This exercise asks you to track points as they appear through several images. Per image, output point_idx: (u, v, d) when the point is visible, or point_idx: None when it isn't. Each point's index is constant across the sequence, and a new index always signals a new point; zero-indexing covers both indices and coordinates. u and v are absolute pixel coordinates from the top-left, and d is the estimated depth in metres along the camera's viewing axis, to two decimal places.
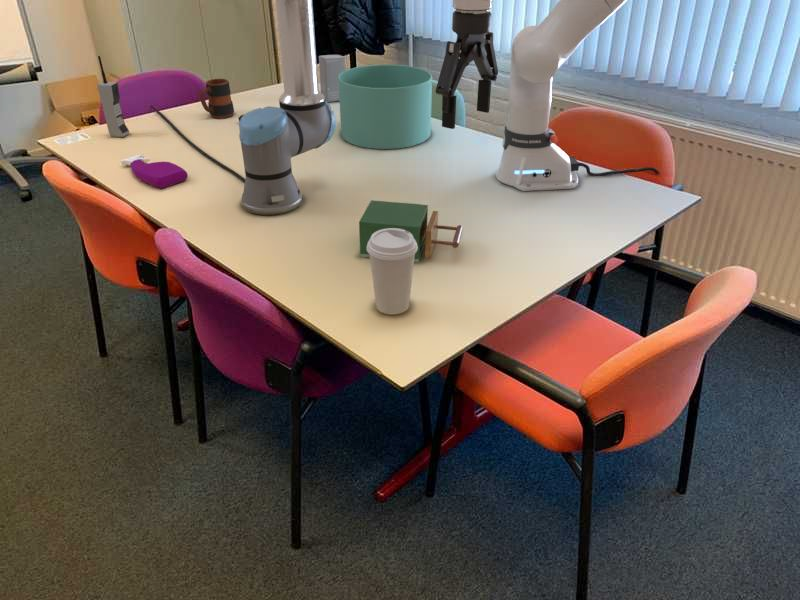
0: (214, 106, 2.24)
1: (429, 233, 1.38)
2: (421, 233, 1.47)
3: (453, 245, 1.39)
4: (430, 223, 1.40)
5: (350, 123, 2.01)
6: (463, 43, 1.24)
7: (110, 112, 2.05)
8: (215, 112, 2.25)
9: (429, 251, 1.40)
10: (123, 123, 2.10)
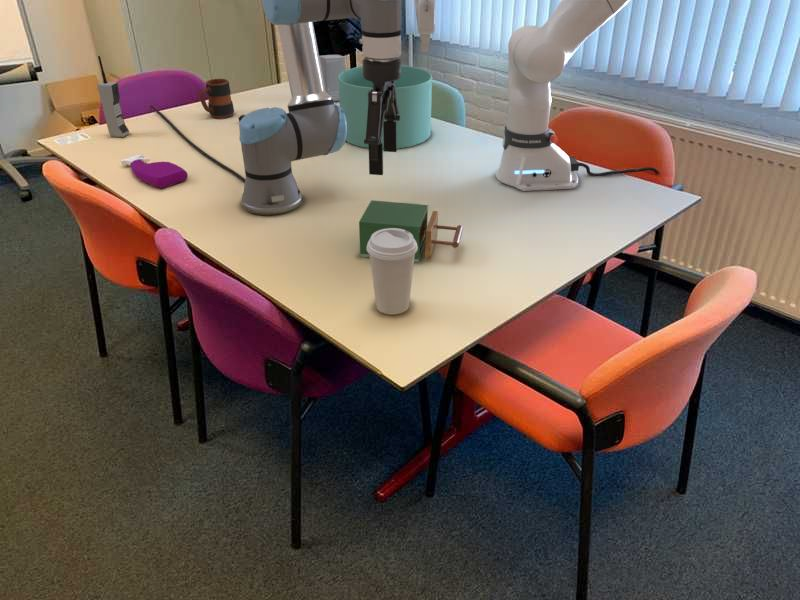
0: (214, 106, 2.24)
1: (429, 233, 1.38)
2: (421, 233, 1.47)
3: (453, 245, 1.39)
4: (430, 223, 1.40)
5: (350, 123, 2.01)
6: None
7: (110, 112, 2.05)
8: (215, 112, 2.25)
9: (429, 251, 1.40)
10: (123, 123, 2.10)
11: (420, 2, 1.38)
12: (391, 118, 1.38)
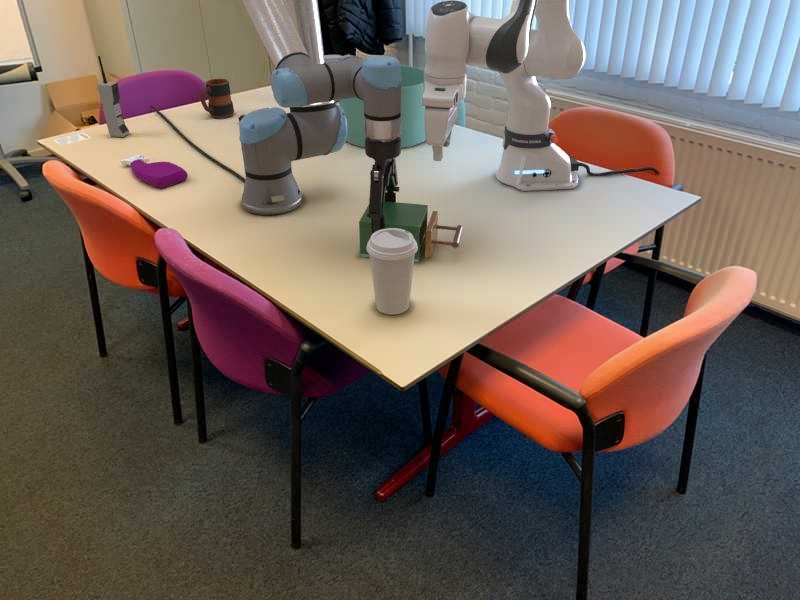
0: (214, 106, 2.24)
1: (429, 233, 1.38)
2: (421, 233, 1.47)
3: (453, 245, 1.39)
4: (430, 223, 1.40)
5: (350, 123, 2.01)
6: None
7: (110, 112, 2.05)
8: (215, 112, 2.25)
9: (429, 251, 1.40)
10: (123, 123, 2.10)
11: None
12: (391, 189, 1.46)
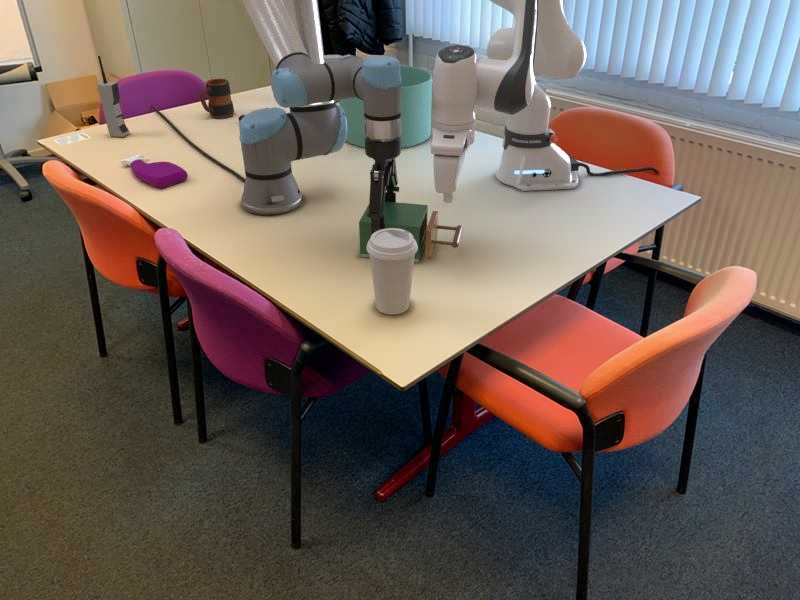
0: (214, 106, 2.24)
1: (429, 233, 1.38)
2: (421, 233, 1.47)
3: (453, 245, 1.39)
4: (430, 223, 1.40)
5: (350, 123, 2.01)
6: None
7: (110, 112, 2.05)
8: (215, 112, 2.25)
9: (429, 251, 1.40)
10: (123, 123, 2.10)
11: None
12: (391, 189, 1.46)
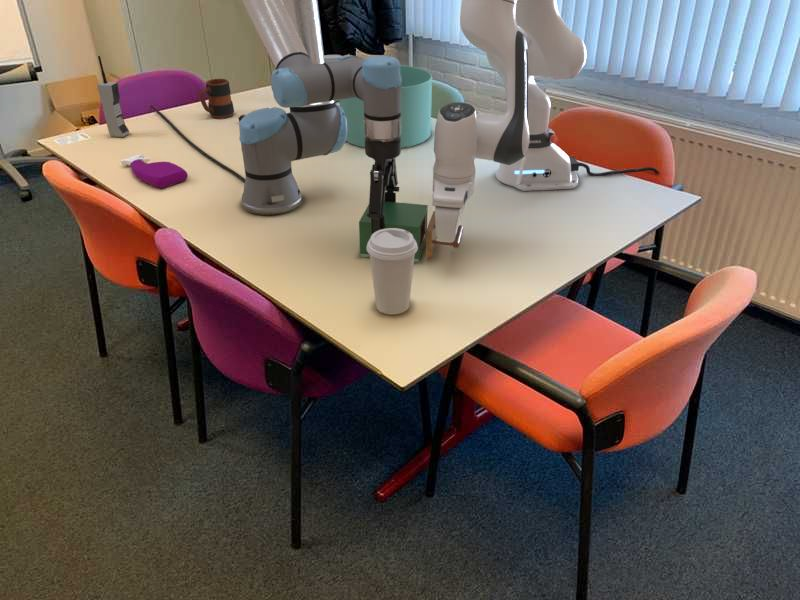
0: (214, 106, 2.24)
1: (430, 233, 1.38)
2: (421, 233, 1.47)
3: (454, 245, 1.39)
4: (431, 223, 1.40)
5: (350, 123, 2.01)
6: None
7: (110, 112, 2.05)
8: (215, 112, 2.25)
9: (430, 251, 1.40)
10: (123, 123, 2.10)
11: None
12: (391, 189, 1.46)
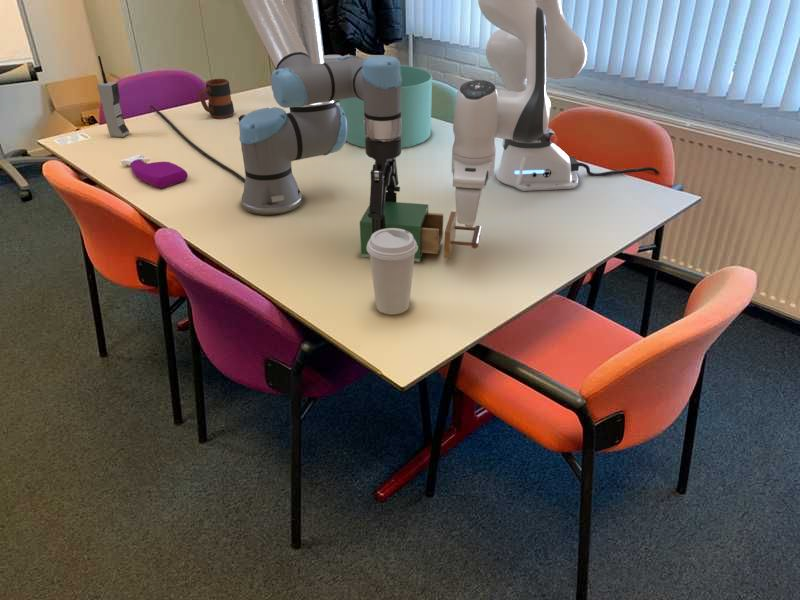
0: (214, 106, 2.24)
1: (448, 234, 1.37)
2: (439, 234, 1.47)
3: (472, 246, 1.38)
4: (449, 224, 1.40)
5: (350, 123, 2.01)
6: None
7: (110, 112, 2.05)
8: (215, 112, 2.25)
9: (448, 252, 1.39)
10: (123, 123, 2.10)
11: None
12: (391, 189, 1.46)
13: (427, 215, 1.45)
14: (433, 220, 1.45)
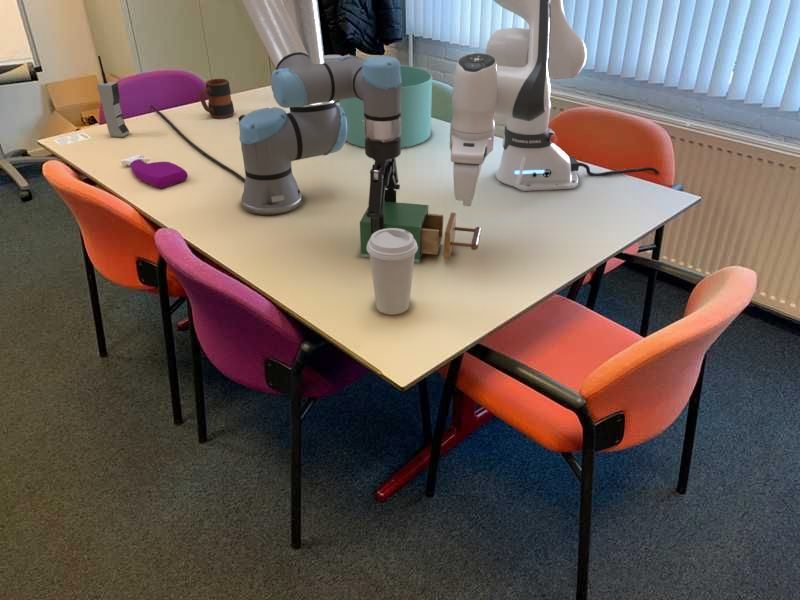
0: (214, 106, 2.24)
1: (448, 235, 1.37)
2: (439, 235, 1.47)
3: (472, 247, 1.38)
4: (449, 225, 1.40)
5: (350, 123, 2.01)
6: None
7: (110, 112, 2.05)
8: (215, 112, 2.25)
9: (448, 253, 1.39)
10: (123, 123, 2.10)
11: None
12: (391, 187, 1.47)
13: (427, 216, 1.45)
14: (433, 220, 1.45)
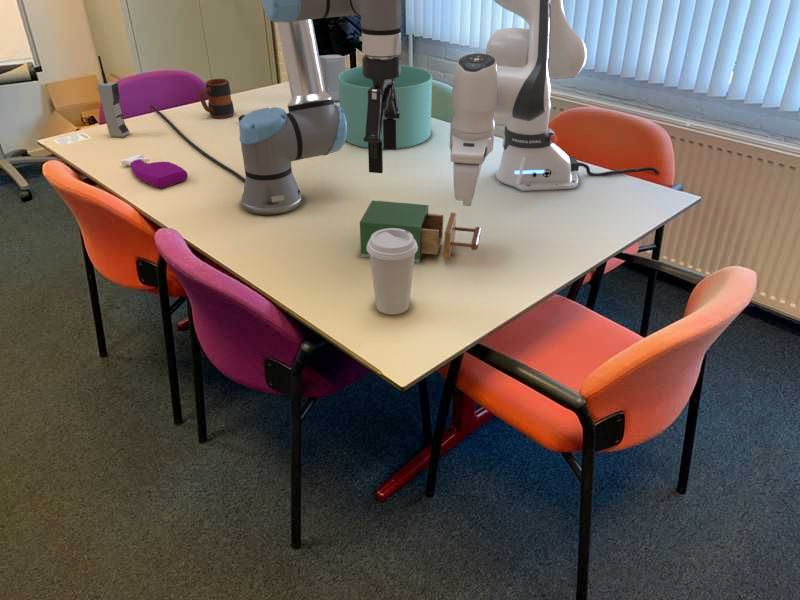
0: (214, 106, 2.24)
1: (448, 235, 1.37)
2: (439, 235, 1.47)
3: (472, 247, 1.38)
4: (449, 225, 1.40)
5: (350, 123, 2.01)
6: None
7: (110, 112, 2.05)
8: (215, 112, 2.25)
9: (448, 253, 1.39)
10: (123, 123, 2.10)
11: None
12: (391, 116, 1.38)
13: (427, 216, 1.45)
14: (433, 220, 1.45)
